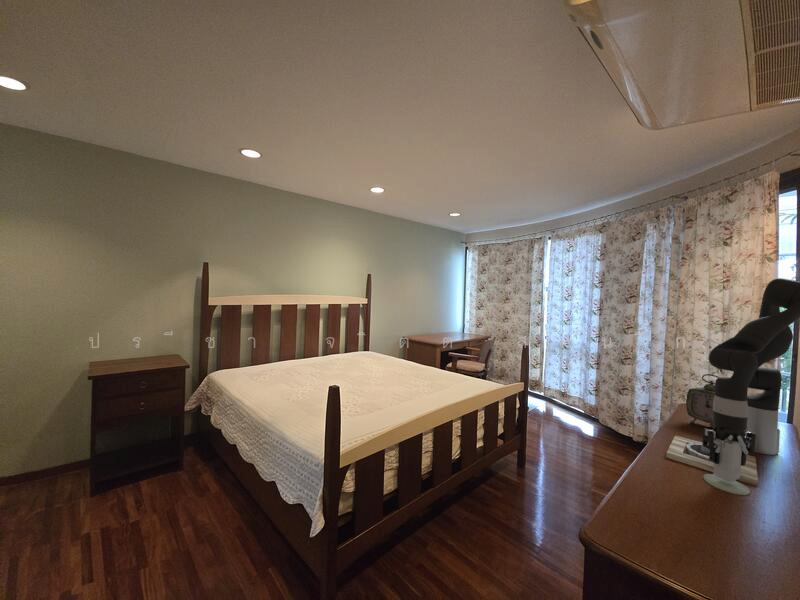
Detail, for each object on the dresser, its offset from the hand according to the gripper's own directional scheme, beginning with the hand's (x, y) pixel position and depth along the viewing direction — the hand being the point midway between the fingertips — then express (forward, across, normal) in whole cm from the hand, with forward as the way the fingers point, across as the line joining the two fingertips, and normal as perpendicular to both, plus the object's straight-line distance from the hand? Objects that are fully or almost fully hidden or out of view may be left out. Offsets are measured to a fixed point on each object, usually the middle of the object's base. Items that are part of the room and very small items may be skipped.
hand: (727, 463), depth 97 cm
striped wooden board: (+7, +10, +16) cm, 20 cm away
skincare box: (+5, 0, 0) cm, 5 cm away
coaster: (+7, 0, 0) cm, 7 cm away
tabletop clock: (+7, +38, +47) cm, 61 cm away
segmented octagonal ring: (+7, +10, +16) cm, 20 cm away
